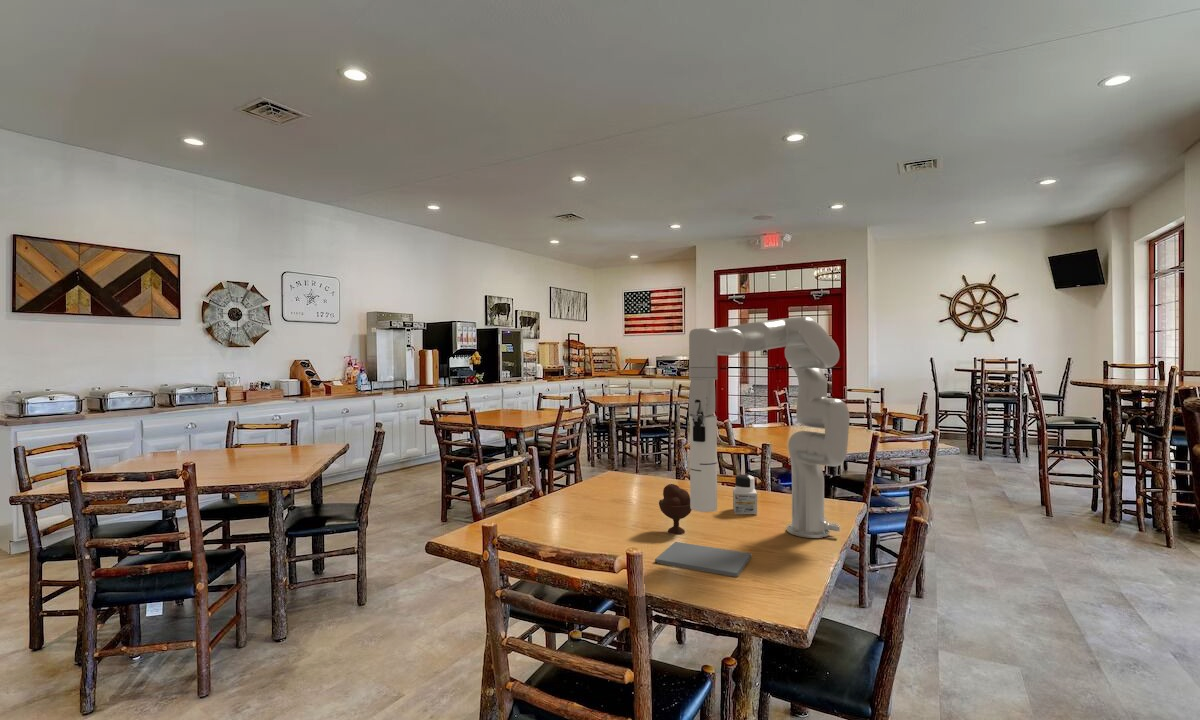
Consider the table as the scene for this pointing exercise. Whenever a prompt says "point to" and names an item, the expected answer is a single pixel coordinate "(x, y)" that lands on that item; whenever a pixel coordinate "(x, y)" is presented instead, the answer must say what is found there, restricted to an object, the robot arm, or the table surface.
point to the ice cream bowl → (675, 506)
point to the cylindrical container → (704, 468)
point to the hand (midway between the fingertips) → (703, 439)
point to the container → (744, 495)
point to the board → (704, 558)
